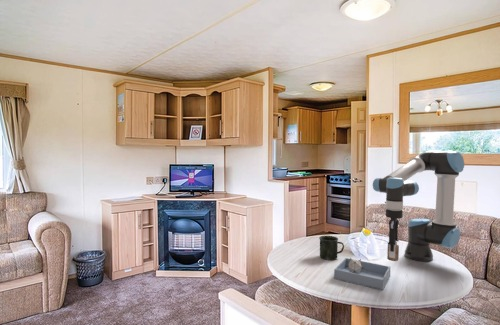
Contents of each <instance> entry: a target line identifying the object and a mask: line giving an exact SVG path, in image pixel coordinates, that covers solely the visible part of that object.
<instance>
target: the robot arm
mask: <svg viewBox="0 0 500 325" xmlns="http://www.w3.org/2000/svg"><path fill="white" fill-rule="evenodd" d="M464 159H465V158H464V157H463V155H462V154H461V152H459V151H454V150H427V151H424V152H422V153H419V154H417V155H415V156H412V157H411V159H409V160H408V162H407V163H405V164H404V165H402V166H400V167H398V168H397V169H395V170H394V171H392V172H391V173H389V174H387V175H386V176H384V177H376V178H374V180H373V181H372V189H373V190H374V191H375V192H377V193H378V192H379V193H383V194H384V193H385V195H386V196H385V197H386V198H385V201H384V204H386V205H385V217H386V218H389V219H390V220H389V221H388V242H387V245H388V244H389V257H390V258H395V248H396V245H398V242H400V241H399V240H400V239H399V237H398V235H399V234H398V231H399V230H398V229H399V222H400V221H399V219H403V216H404V215H403V213H404V212H403V209H404V197H409V196H410V197H411V196H414V195H416V194H418V193H419V190H420V188H419V187H420V186H419V184H418V183H417V182H416V181H414V180H409V179H410V178H412V177H413V176H414V175H416V174H419V173H423V172H424V171H425V172H426V171H432V172H433V171H434V175H435V176H436V178H437V180H436V196H435V197H436V198H435V199H436V200H435V213H434V214H435V216H434V219H433V220H432V221H431V219H428V218H412V219H409V221H408V225H407V226H408V228H407V229H408V230H407V231H408V233H407V234H408V235H407V244H406V247H405V250H404V256H405V257H406V258H407V259H411V260H412V261H413V260H415V261H420V262H431V261H432V260H434V254H433V251H432V248H431V245H430V244H432V245H435V246H440V247H443V248H448V249H453V248H455V247H456V246H457V245H458V243H459V241H460V239H461V230H460V229H459V228H458V227H457V224H456V223H455V221H454V208H455V206H454V205H455V190H456V178H457V177H459V175H460V173H462V172H463V171H464V168H465V160H464ZM395 244H396V245H395Z"/></svg>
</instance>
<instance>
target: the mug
mask: <svg viewBox="0 0 500 325" xmlns="http://www.w3.org/2000/svg"><path fill="white" fill-rule="evenodd" d="M318 240H319V257H320V258H321V259H323V260H326V261H334V260H337V259H338V254H341V253H343V250H344V248H345V244H344V243H343V242H342V241H339V238H338V237H337V236H333V235H322V236H319V238H318ZM338 244H341V245H342V248H341V250H340V251H339V250H338Z"/></svg>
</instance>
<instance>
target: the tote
mask: <svg viewBox="0 0 500 325" xmlns="http://www.w3.org/2000/svg"><path fill="white" fill-rule="evenodd" d="M351 259H353V258H351ZM351 259H350V258H348V257H345V258H344V259H343V260H342V261H340V263H339V264H338V265H337V266H336V267H335V268H334V269H333V270H334V271H333V272H334V273H333V276H334V278H333V279H334V280H338V281H341V282H346V283H350V284H355V285H359V286H363V287H366V288H367V287H368V288H371V289H375V290H380V291H384V290H385V287H386V285H387V283H388V282H389V280H390V278H391V266H390V265H384V264H378V263H374V262H369V261H363V260H360V262H361V265H362V267H363V268H364V269H363V268H362V271H361V273H360V274H356V273H351V272H350V271H349V268H348V266H347V265H348V264H349V262H350V260H351ZM353 260H355V259H353Z"/></svg>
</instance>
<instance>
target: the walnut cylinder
mask: <svg viewBox="0 0 500 325" xmlns="http://www.w3.org/2000/svg"><path fill="white" fill-rule="evenodd" d="M395 245H396V244H395ZM399 250H400V246H399V244H397V245H396V248H395V258H390V257H389V244H388V243H387V257H386V259H387V260H389V261H391V262H392V261H393V262H398V261H399V260H400V259H399V256H400V255H399V254H400V251H399Z"/></svg>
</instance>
